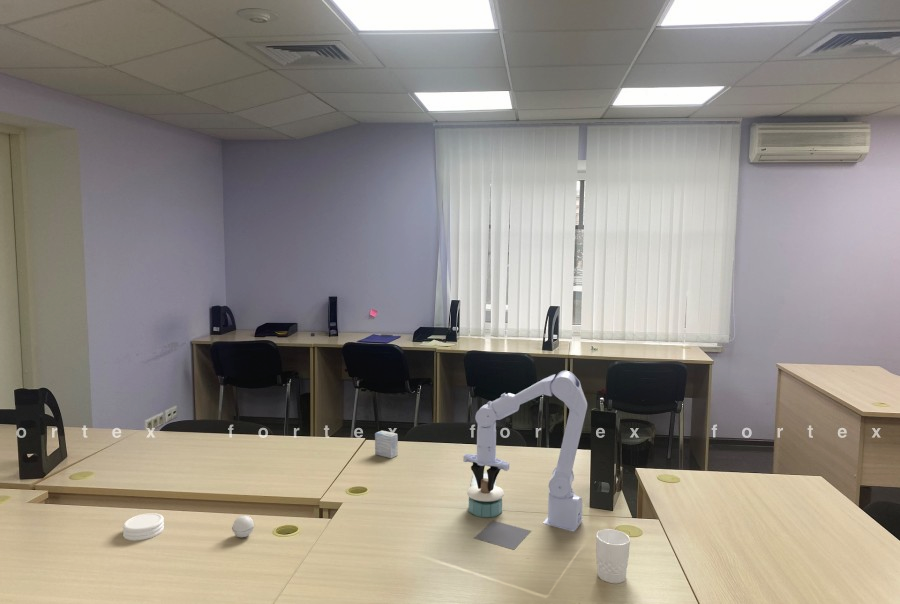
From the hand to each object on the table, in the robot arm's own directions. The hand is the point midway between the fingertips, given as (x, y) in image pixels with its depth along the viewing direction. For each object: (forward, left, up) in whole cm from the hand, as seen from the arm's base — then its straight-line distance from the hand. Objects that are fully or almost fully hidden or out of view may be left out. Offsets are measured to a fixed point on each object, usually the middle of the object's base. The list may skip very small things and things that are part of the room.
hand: (485, 488), depth 173 cm
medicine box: (+54, -23, -7) cm, 59 cm away
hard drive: (+10, -19, -8) cm, 23 cm away
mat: (-11, +11, -7) cm, 17 cm away
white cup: (-42, +15, -7) cm, 45 cm away
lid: (0, 0, -2) cm, 2 cm away
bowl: (0, 0, -7) cm, 7 cm away
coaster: (+75, +61, -8) cm, 97 cm away
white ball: (+49, +49, -7) cm, 70 cm away
